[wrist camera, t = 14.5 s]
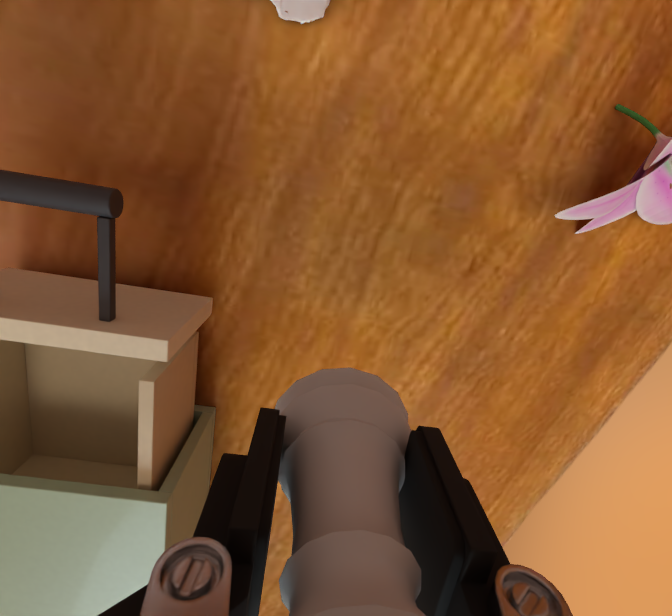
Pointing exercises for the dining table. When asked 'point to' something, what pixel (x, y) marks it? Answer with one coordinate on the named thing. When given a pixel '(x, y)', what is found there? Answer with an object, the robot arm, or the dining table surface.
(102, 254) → the drawer
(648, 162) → the lily
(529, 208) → the dining table surface
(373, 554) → the rook chess piece
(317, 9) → the shaker set
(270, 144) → the dining table surface
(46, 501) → the cabinet
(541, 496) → the dining table surface
